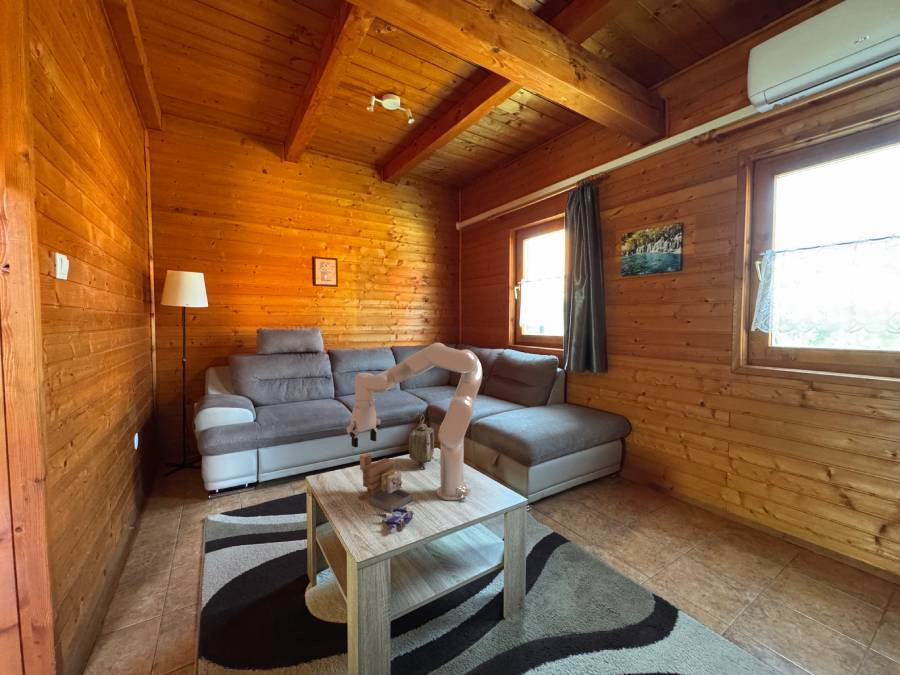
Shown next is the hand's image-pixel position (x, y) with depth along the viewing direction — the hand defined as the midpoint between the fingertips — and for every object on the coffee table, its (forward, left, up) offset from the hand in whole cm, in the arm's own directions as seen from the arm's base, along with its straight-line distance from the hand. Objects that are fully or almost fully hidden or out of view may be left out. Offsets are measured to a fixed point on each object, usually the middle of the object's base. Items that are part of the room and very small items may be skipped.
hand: (364, 443), depth 151 cm
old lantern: (0, -35, -21) cm, 41 cm away
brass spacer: (-14, 0, -15) cm, 20 cm away
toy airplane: (-27, +10, -21) cm, 36 cm away
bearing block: (-7, 0, -20) cm, 21 cm away
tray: (-16, 0, -20) cm, 26 cm away
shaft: (-10, 0, -12) cm, 16 cm away
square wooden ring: (-17, 0, -15) cm, 23 cm away
